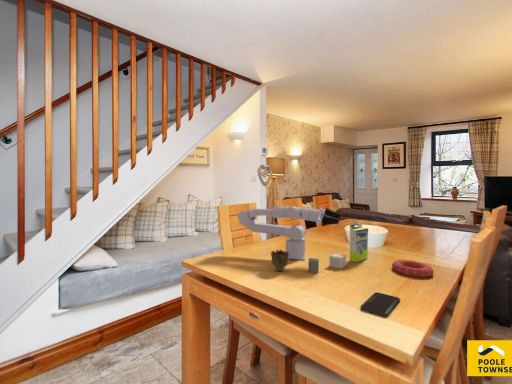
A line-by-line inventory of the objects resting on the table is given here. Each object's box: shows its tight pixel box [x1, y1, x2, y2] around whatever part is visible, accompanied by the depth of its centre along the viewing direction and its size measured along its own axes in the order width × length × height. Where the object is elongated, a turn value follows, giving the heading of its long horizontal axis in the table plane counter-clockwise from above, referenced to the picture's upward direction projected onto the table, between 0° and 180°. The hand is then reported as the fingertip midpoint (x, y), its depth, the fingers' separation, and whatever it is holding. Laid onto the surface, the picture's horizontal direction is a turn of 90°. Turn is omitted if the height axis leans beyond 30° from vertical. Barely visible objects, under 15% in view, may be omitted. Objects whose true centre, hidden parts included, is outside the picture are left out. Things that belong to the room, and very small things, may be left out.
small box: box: [328, 253, 347, 269], centre depth 125 cm, size 6×6×5 cm
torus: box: [391, 259, 434, 279], centre depth 117 cm, size 16×14×4 cm
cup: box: [270, 249, 289, 272], centre depth 119 cm, size 8×7×8 cm
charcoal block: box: [307, 257, 320, 274], centre depth 118 cm, size 4×4×5 cm
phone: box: [360, 291, 401, 318], centre depth 86 cm, size 8×1×15 cm
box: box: [349, 222, 369, 263], centre depth 135 cm, size 10×4×17 cm, turn 128°
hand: (339, 218), depth 130 cm, fingers open, 7 cm apart
